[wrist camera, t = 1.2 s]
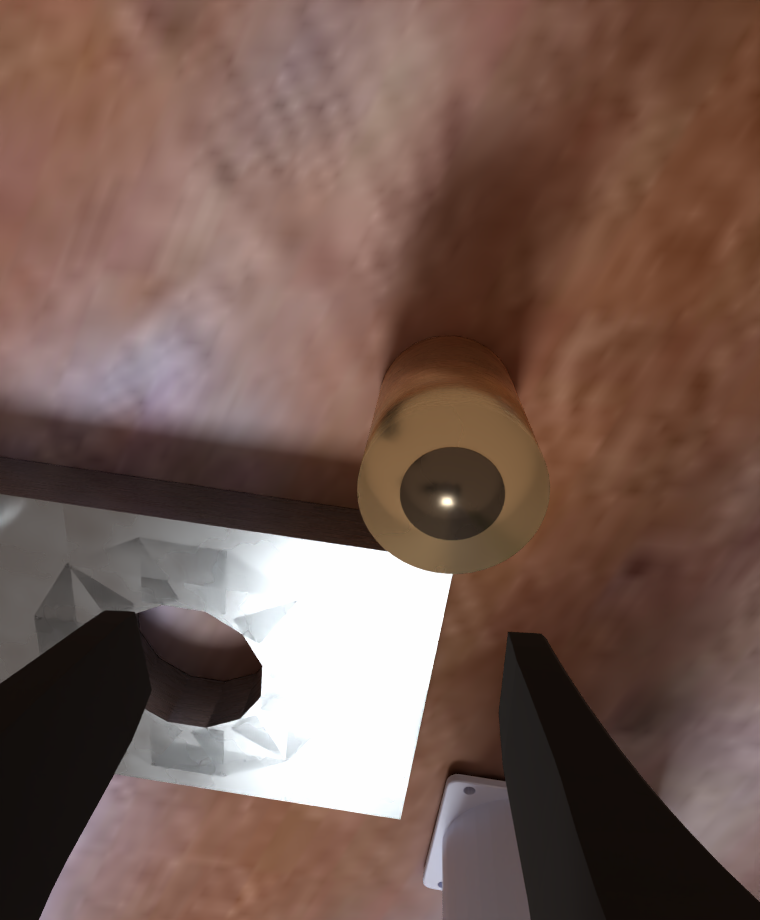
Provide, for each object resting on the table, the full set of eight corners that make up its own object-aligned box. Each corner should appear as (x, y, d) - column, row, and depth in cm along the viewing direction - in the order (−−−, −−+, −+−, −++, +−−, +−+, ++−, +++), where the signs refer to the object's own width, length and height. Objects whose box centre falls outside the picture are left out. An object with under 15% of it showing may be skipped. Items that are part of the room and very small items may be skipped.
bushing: (527, 346, 19) (572, 420, 13) (498, 471, 20) (525, 587, 14) (388, 326, 19) (368, 391, 13) (372, 453, 21) (347, 560, 15)
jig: (452, 523, 21) (456, 592, 18) (402, 768, 27) (398, 858, 23) (-34, 451, 22) (-127, 504, 18) (15, 707, 27) (-49, 787, 24)
